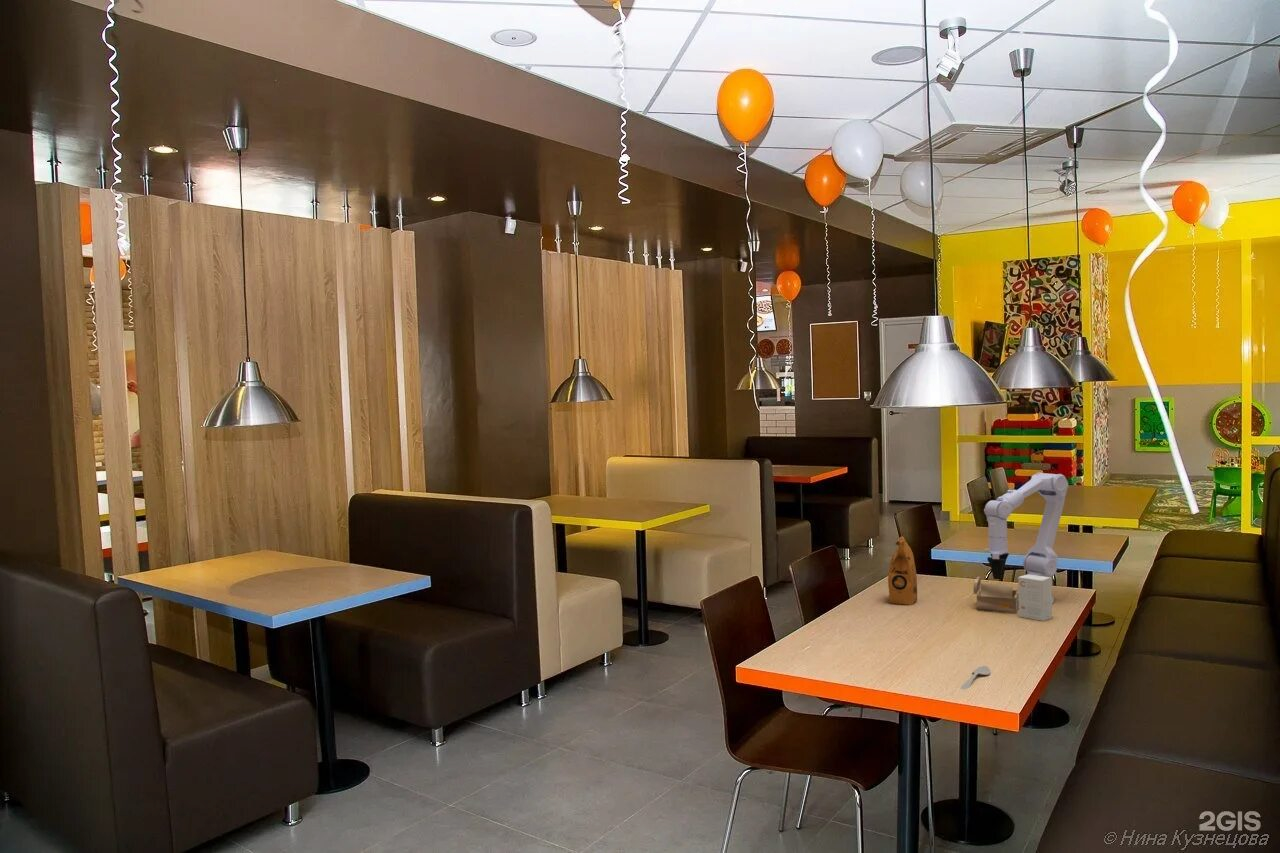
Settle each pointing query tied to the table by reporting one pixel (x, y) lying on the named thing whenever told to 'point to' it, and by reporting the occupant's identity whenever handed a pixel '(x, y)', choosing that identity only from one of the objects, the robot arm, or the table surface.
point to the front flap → (996, 591)
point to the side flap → (977, 585)
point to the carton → (998, 603)
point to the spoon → (976, 672)
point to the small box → (1035, 597)
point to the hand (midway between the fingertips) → (998, 576)
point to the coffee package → (902, 575)
